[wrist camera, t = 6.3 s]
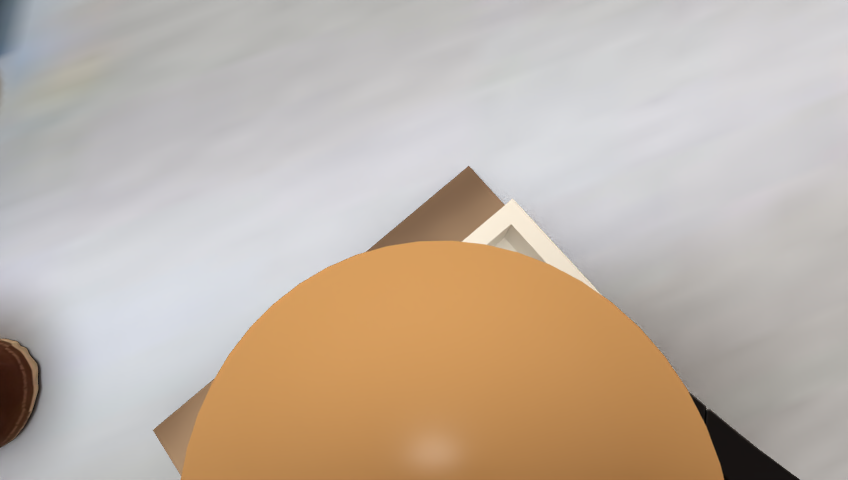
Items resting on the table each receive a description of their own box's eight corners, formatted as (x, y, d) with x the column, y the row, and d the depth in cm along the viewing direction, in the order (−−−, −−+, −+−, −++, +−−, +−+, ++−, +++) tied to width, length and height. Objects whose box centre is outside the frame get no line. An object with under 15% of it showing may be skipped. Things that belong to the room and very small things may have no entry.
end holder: (615, 339, 21) (649, 346, 17) (490, 447, 21) (495, 479, 17) (504, 218, 23) (512, 198, 19) (387, 317, 22) (370, 318, 18)
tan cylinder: (542, 395, 15) (851, 755, 3) (424, 435, 15) (250, 927, 3) (497, 276, 16) (592, 170, 4) (385, 316, 16) (130, 336, 4)
